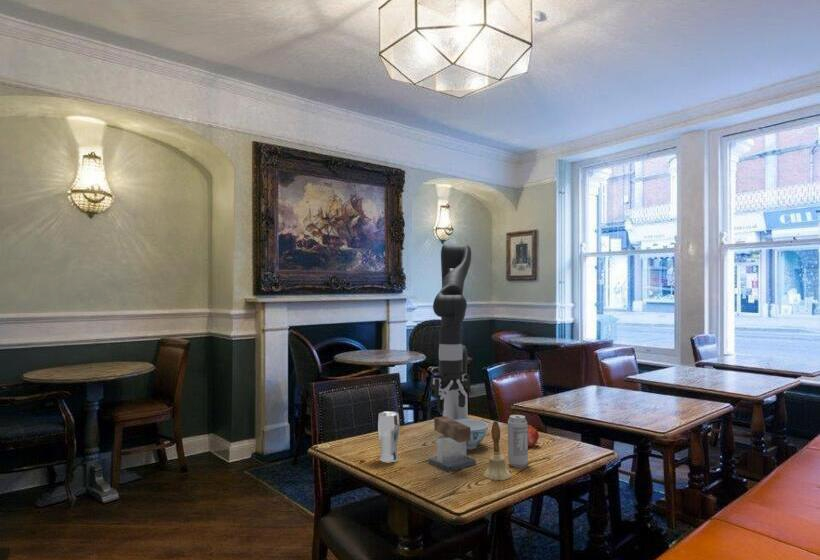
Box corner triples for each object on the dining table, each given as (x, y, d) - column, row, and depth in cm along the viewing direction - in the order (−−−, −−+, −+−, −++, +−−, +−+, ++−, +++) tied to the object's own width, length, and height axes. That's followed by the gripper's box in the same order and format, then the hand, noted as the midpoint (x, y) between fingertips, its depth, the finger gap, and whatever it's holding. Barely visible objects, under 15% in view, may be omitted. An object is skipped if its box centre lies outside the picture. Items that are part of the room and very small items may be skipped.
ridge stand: (428, 463, 163) (428, 434, 163) (455, 456, 169) (454, 429, 169) (448, 471, 155) (448, 441, 155) (475, 464, 161) (475, 435, 161)
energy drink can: (524, 461, 164) (523, 413, 164) (530, 467, 158) (529, 418, 158) (505, 462, 163) (505, 414, 164) (511, 468, 157) (511, 419, 158)
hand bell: (493, 482, 146) (492, 426, 146) (477, 473, 154) (477, 419, 154) (517, 478, 149) (516, 422, 150) (501, 469, 157) (500, 416, 157)
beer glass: (389, 455, 171) (389, 410, 171) (404, 460, 166) (403, 413, 166) (373, 460, 166) (373, 413, 167) (388, 465, 161) (387, 417, 162)
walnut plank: (434, 429, 169) (434, 417, 169) (445, 428, 170) (444, 416, 170) (459, 442, 154) (458, 429, 154) (470, 440, 156) (470, 427, 156)
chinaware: (497, 447, 179) (497, 425, 179) (466, 456, 170) (465, 432, 170) (467, 438, 191) (467, 417, 191) (436, 445, 182) (436, 423, 182)
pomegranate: (520, 448, 185) (509, 436, 179) (528, 430, 188) (517, 417, 182) (538, 454, 180) (527, 442, 174) (546, 436, 183) (535, 423, 177)
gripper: (459, 354, 170) (460, 403, 170) (425, 358, 162) (426, 410, 161) (475, 357, 164) (475, 408, 163) (440, 361, 156) (441, 414, 155)
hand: (451, 409), depth 162 cm, fingers open, 8 cm apart
